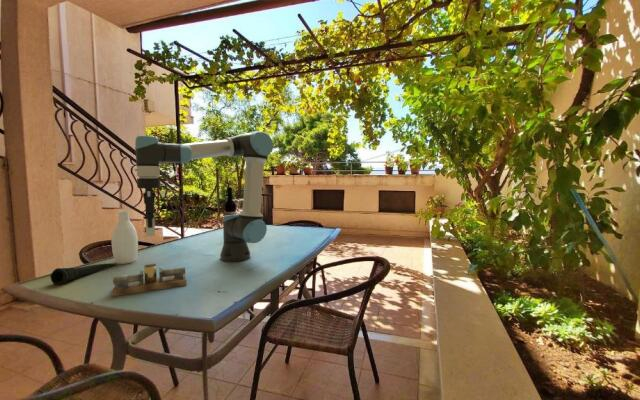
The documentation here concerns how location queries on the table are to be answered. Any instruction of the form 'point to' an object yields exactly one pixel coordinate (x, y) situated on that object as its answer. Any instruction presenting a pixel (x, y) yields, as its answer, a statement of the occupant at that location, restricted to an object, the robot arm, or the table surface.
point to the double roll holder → (137, 283)
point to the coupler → (150, 273)
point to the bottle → (124, 240)
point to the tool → (75, 272)
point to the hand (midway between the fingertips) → (150, 233)
